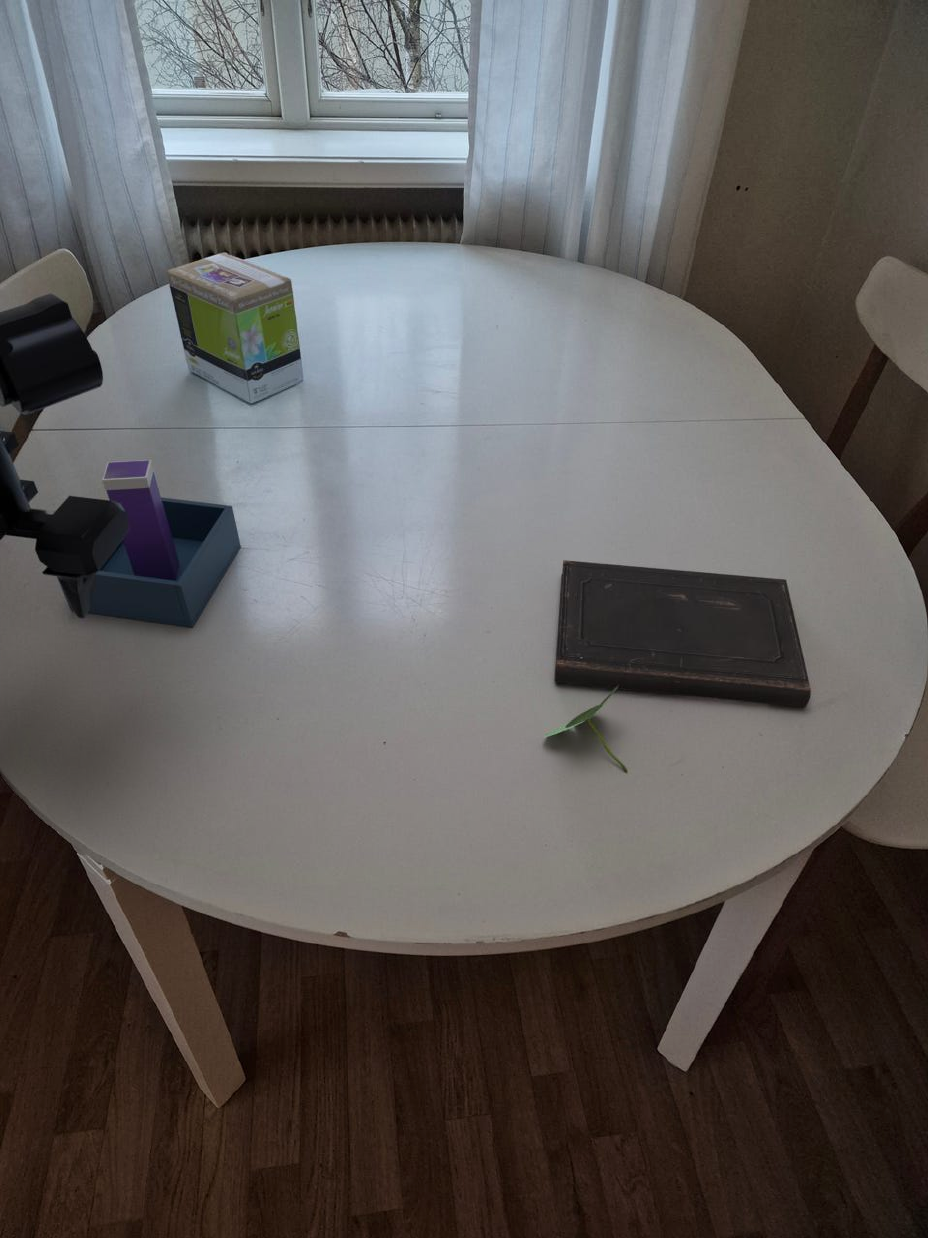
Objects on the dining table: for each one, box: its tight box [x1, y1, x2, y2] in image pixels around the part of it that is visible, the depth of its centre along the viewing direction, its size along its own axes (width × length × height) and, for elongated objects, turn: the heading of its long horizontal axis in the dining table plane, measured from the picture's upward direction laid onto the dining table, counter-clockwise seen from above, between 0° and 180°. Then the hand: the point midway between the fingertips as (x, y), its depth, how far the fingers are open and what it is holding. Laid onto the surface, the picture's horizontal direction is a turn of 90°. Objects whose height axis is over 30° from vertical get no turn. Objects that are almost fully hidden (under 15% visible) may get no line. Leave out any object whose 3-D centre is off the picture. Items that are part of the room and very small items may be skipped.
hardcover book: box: [553, 559, 812, 708], centre depth 85 cm, size 16×23×2 cm
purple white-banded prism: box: [101, 459, 179, 581], centre depth 87 cm, size 4×3×13 cm
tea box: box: [166, 251, 304, 404], centre depth 119 cm, size 15×10×15 cm
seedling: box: [542, 685, 628, 773], centre depth 74 cm, size 7×8×6 cm
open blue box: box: [56, 496, 242, 628], centre depth 90 cm, size 13×13×6 cm
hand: (31, 607), depth 69 cm, fingers open, 9 cm apart
